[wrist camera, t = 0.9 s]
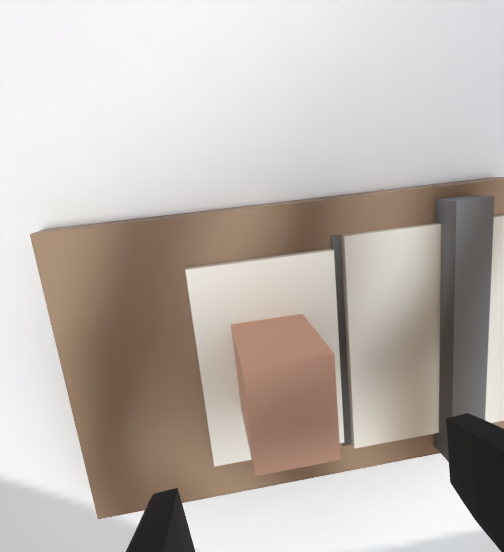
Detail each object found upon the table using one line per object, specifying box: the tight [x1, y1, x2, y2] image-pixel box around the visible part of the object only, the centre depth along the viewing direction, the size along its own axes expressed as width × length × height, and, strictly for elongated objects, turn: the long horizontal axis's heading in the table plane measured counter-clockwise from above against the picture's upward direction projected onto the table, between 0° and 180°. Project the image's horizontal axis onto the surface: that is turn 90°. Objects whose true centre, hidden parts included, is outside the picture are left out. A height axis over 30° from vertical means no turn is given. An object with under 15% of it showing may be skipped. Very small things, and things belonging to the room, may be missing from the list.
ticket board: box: [30, 177, 504, 519], centre depth 18 cm, size 20×13×3 cm, turn 96°
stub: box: [185, 249, 344, 476], centre depth 16 cm, size 6×9×4 cm, turn 6°
